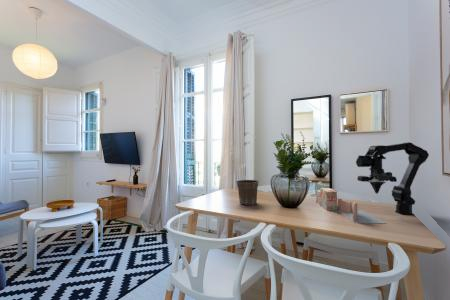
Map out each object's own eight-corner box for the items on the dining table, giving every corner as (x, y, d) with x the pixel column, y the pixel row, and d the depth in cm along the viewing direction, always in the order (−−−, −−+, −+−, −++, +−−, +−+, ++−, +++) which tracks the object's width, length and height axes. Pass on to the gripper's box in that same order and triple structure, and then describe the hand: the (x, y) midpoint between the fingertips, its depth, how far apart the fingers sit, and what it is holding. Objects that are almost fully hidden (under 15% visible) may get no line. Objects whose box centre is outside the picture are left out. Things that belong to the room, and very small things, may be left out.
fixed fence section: (352, 213, 129) (352, 201, 129) (349, 213, 128) (349, 201, 128) (339, 209, 137) (339, 198, 137) (337, 209, 137) (337, 198, 137)
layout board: (361, 210, 135) (361, 209, 135) (386, 223, 111) (386, 222, 111) (336, 209, 137) (336, 209, 137) (354, 222, 112) (354, 222, 112)
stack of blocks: (315, 202, 157) (315, 185, 157) (324, 202, 156) (324, 185, 156) (326, 210, 135) (326, 191, 135) (337, 211, 135) (337, 191, 135)
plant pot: (231, 203, 157) (231, 181, 157) (246, 199, 168) (246, 179, 168) (249, 207, 145) (248, 183, 145) (263, 203, 156) (263, 181, 156)
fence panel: (351, 212, 128) (351, 197, 128) (357, 213, 127) (357, 198, 127) (352, 220, 114) (352, 203, 114) (358, 221, 112) (358, 204, 112)
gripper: (366, 167, 121) (366, 196, 120) (403, 167, 118) (403, 196, 118) (356, 166, 132) (357, 192, 132) (390, 166, 129) (390, 192, 129)
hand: (376, 193), depth 127 cm, fingers closed
